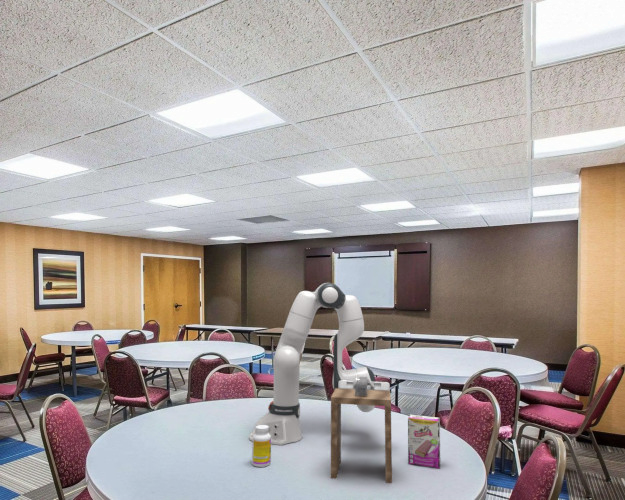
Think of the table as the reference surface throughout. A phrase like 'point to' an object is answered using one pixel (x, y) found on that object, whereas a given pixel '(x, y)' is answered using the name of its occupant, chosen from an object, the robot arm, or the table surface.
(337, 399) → the wooden side table
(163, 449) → the table surface
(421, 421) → the candy bar box
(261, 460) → the supplement bottle
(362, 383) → the bar
